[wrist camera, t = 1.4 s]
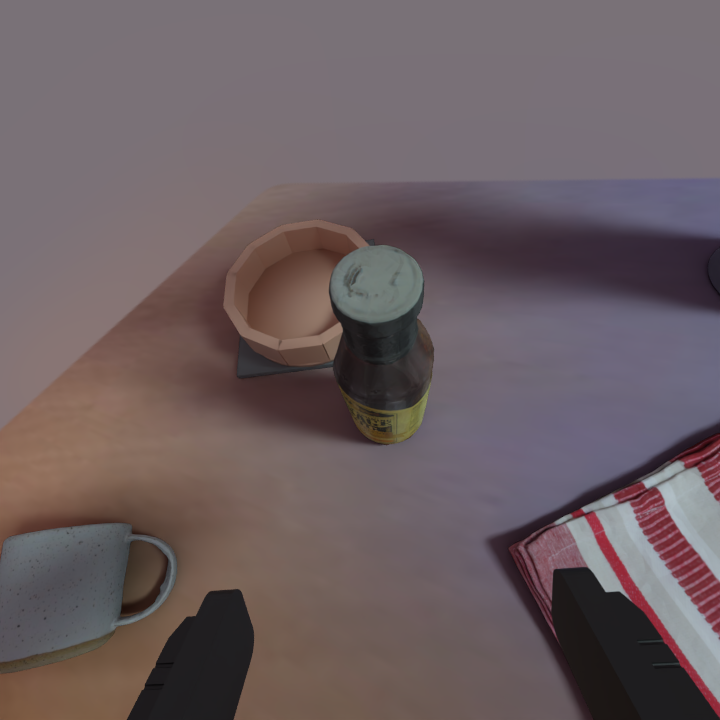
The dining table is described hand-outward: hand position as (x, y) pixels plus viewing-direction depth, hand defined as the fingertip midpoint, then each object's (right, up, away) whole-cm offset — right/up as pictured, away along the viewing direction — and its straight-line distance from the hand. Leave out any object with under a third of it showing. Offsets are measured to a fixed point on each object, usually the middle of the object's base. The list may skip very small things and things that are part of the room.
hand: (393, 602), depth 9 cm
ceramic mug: (-21, -12, +21) cm, 32 cm away
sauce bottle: (+2, +1, +24) cm, 24 cm away
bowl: (-6, +12, +29) cm, 32 cm away
